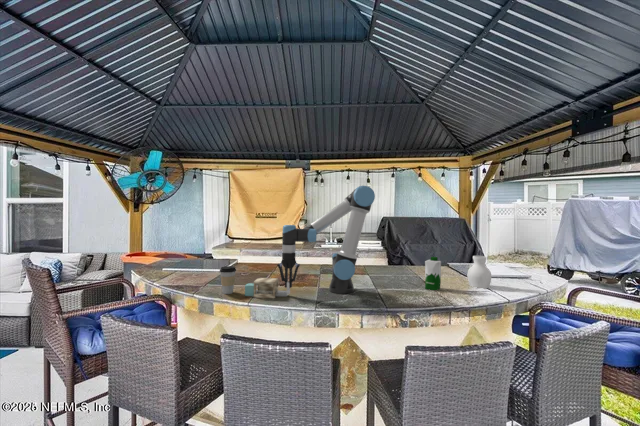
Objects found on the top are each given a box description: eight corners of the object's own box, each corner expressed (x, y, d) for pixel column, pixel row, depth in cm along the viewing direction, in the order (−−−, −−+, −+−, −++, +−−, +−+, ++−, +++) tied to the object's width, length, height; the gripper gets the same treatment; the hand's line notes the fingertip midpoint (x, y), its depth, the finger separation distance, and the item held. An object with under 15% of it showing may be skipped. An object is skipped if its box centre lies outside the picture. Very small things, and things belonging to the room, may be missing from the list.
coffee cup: (231, 295, 167) (231, 269, 167) (216, 294, 169) (216, 268, 169) (238, 291, 177) (239, 266, 177) (224, 290, 178) (224, 265, 178)
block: (255, 293, 172) (256, 283, 171) (253, 296, 167) (253, 285, 166) (247, 293, 172) (247, 283, 172) (244, 295, 167) (244, 285, 167)
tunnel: (278, 293, 172) (278, 278, 172) (274, 298, 163) (274, 282, 163) (258, 293, 173) (258, 277, 173) (253, 297, 164) (253, 281, 164)
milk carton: (442, 288, 187) (442, 257, 187) (437, 291, 180) (437, 259, 180) (428, 286, 193) (428, 256, 193) (423, 288, 186) (423, 257, 186)
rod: (287, 295, 169) (287, 290, 169) (286, 296, 167) (286, 291, 167) (255, 294, 170) (255, 289, 170) (254, 295, 168) (254, 291, 168)
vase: (488, 284, 199) (489, 255, 199) (494, 290, 185) (494, 258, 185) (465, 283, 203) (465, 254, 203) (469, 288, 190) (469, 257, 189)
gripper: (301, 251, 170) (300, 291, 170) (279, 250, 171) (278, 291, 171) (299, 253, 163) (298, 295, 163) (276, 252, 164) (275, 294, 164)
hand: (288, 293), depth 167 cm, fingers closed
